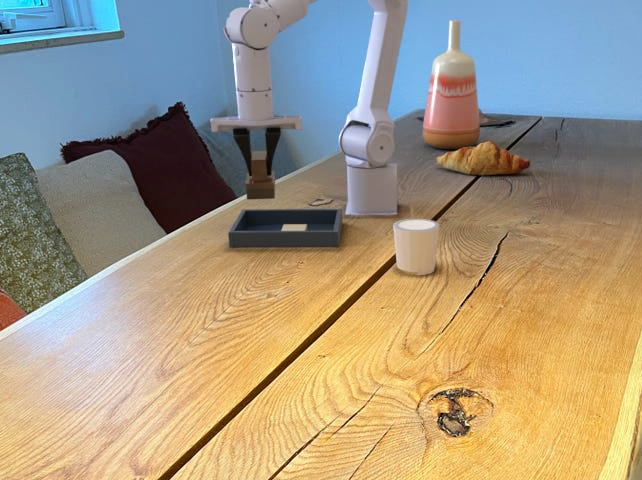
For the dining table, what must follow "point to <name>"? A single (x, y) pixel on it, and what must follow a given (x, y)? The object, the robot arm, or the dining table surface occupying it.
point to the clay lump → (294, 227)
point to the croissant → (483, 160)
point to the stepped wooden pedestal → (260, 178)
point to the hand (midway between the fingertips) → (260, 174)
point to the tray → (266, 231)
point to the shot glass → (416, 245)
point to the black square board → (484, 119)
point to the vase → (452, 98)
